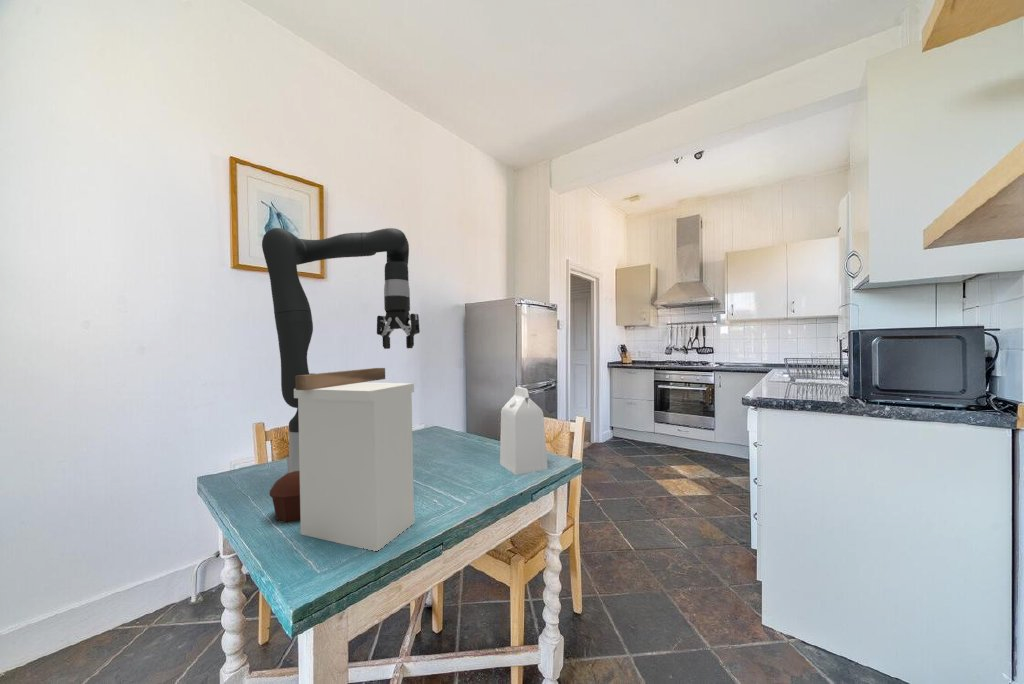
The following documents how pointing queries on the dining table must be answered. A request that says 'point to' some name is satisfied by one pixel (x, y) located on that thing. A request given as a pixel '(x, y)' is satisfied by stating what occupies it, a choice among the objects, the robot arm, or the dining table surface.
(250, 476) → the dining table surface
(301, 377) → the walnut handle
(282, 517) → the muffin
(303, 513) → the tall stand
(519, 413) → the milk
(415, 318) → the robot arm
